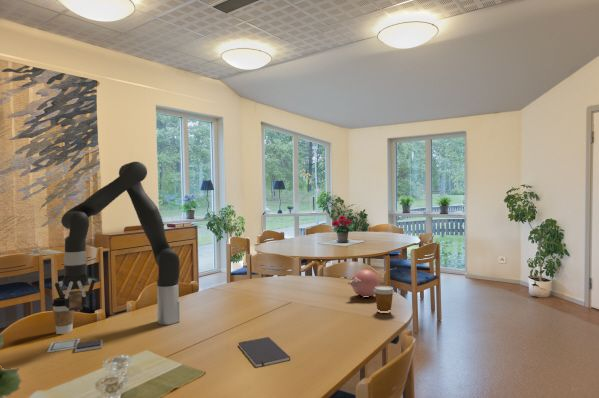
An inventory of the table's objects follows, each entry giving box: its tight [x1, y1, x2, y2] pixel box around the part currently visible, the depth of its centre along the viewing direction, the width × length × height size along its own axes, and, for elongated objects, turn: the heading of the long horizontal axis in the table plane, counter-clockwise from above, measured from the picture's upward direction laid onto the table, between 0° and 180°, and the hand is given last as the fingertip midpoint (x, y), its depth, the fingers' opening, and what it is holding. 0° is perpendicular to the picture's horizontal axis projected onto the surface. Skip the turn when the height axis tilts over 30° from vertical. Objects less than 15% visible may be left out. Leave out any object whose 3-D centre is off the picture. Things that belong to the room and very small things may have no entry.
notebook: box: [238, 336, 291, 367], centre depth 142 cm, size 13×2×21 cm
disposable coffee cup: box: [374, 285, 395, 311], centre depth 187 cm, size 10×10×12 cm
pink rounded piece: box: [347, 269, 381, 297], centre depth 213 cm, size 15×20×15 cm
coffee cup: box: [51, 296, 75, 335], centre depth 164 cm, size 8×8×15 cm
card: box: [46, 338, 81, 354], centre depth 150 cm, size 10×10×1 cm
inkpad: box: [74, 339, 104, 353], centre depth 148 cm, size 9×6×1 cm
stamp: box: [69, 290, 83, 311], centre depth 148 cm, size 4×4×6 cm
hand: (75, 306), depth 148 cm, fingers closed on stamp, 4 cm apart
